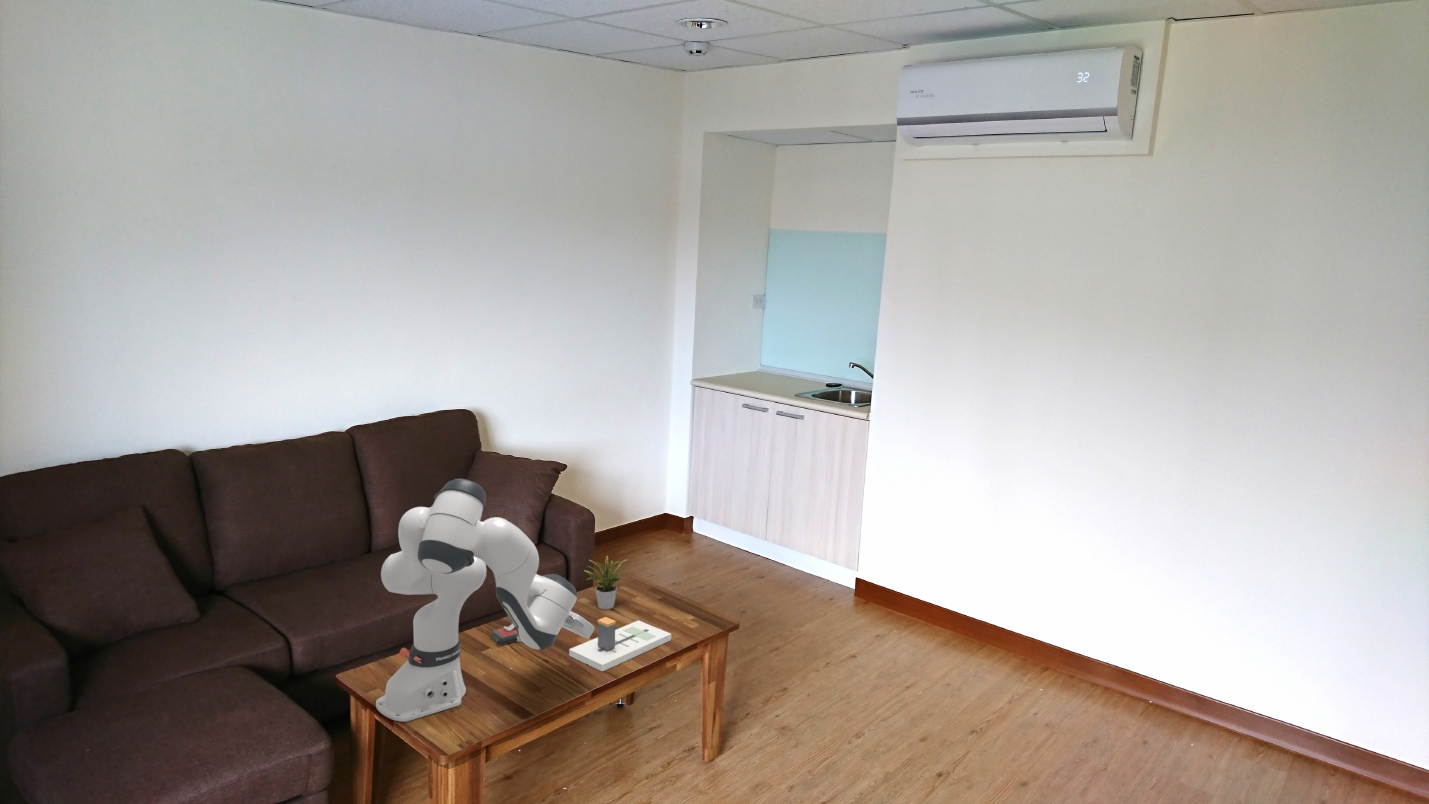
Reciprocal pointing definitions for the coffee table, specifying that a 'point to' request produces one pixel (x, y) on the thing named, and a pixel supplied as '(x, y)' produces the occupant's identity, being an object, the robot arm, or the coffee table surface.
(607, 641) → the fader knob
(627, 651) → the console
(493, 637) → the red and grey tool
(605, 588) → the house plant
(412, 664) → the robot arm
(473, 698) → the coffee table surface
